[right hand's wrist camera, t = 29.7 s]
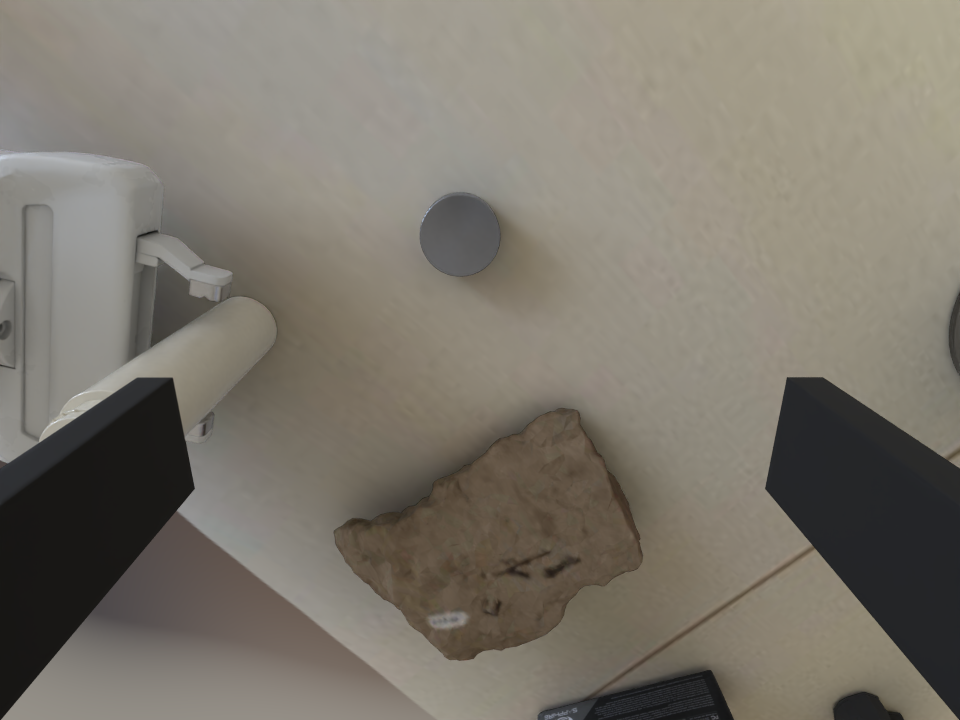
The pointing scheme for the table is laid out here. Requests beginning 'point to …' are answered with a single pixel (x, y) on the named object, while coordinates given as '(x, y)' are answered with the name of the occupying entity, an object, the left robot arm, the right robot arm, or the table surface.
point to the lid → (460, 234)
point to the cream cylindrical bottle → (191, 361)
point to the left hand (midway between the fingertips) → (218, 361)
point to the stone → (500, 541)
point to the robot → (863, 709)
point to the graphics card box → (653, 702)
